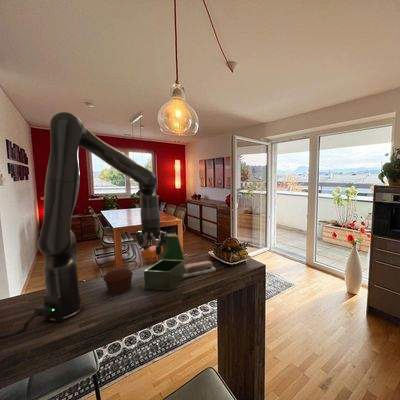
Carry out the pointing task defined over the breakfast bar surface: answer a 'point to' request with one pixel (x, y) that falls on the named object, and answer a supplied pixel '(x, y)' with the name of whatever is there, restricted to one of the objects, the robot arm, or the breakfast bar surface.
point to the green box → (164, 274)
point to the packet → (150, 252)
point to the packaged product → (198, 268)
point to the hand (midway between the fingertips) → (152, 253)
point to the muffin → (118, 280)
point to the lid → (172, 248)
